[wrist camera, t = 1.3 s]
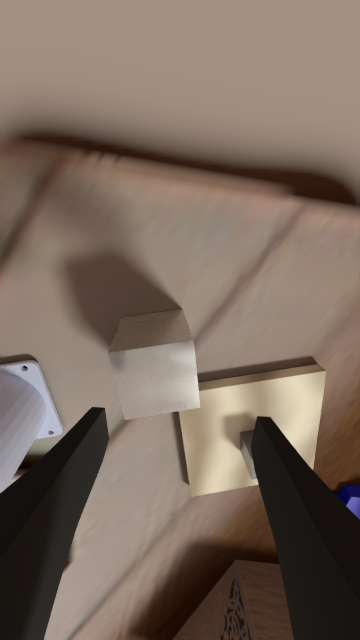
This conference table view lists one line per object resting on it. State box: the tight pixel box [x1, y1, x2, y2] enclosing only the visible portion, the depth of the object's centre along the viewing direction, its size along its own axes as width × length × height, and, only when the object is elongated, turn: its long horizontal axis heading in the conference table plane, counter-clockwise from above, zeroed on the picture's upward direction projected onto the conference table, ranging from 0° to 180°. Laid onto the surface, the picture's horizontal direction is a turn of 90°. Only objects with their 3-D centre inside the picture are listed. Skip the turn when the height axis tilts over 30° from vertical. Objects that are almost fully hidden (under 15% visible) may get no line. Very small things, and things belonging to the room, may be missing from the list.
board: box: [179, 364, 326, 497], centre depth 24 cm, size 14×14×1 cm
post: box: [240, 430, 257, 480], centre depth 22 cm, size 3×3×3 cm
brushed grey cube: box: [108, 309, 200, 420], centre depth 17 cm, size 5×5×6 cm
